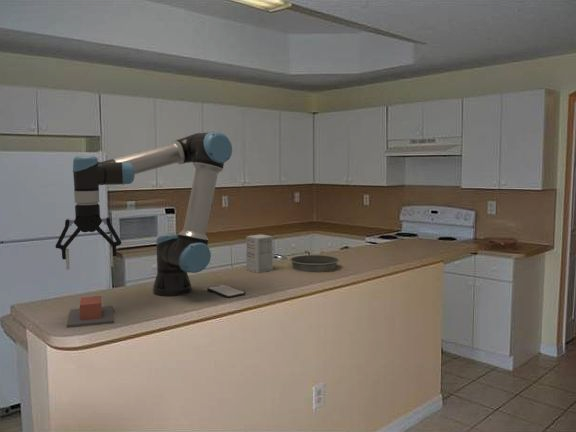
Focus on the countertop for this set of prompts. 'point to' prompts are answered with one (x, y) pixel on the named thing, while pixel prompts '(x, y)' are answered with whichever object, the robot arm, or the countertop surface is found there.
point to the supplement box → (259, 253)
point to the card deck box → (90, 308)
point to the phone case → (225, 291)
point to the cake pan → (314, 263)
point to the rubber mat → (75, 319)
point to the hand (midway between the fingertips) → (90, 267)
